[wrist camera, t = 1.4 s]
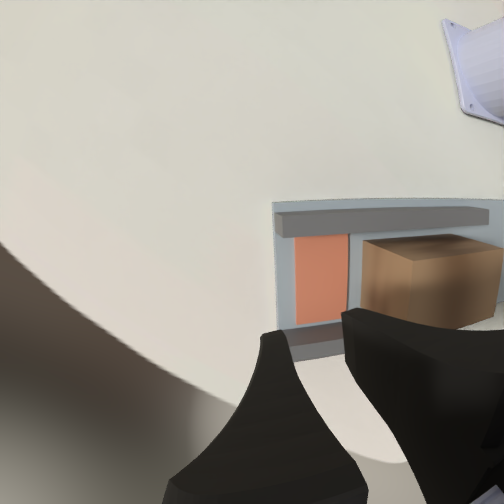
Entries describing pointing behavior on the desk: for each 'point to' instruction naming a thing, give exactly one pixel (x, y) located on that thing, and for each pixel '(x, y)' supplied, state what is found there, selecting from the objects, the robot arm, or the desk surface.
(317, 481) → the robot arm
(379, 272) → the walnut block
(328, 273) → the trough
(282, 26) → the desk surface
